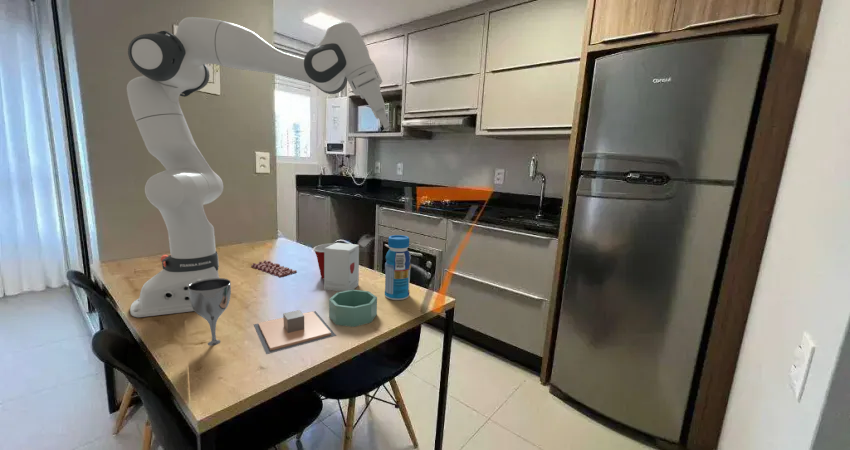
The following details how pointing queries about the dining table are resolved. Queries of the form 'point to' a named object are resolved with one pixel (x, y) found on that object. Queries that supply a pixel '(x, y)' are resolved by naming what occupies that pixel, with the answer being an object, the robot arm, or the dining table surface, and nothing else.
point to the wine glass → (210, 301)
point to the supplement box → (341, 267)
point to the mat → (290, 345)
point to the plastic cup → (321, 256)
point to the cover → (293, 329)
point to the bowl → (352, 308)
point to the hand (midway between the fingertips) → (387, 128)
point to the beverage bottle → (397, 268)
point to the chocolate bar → (273, 268)
